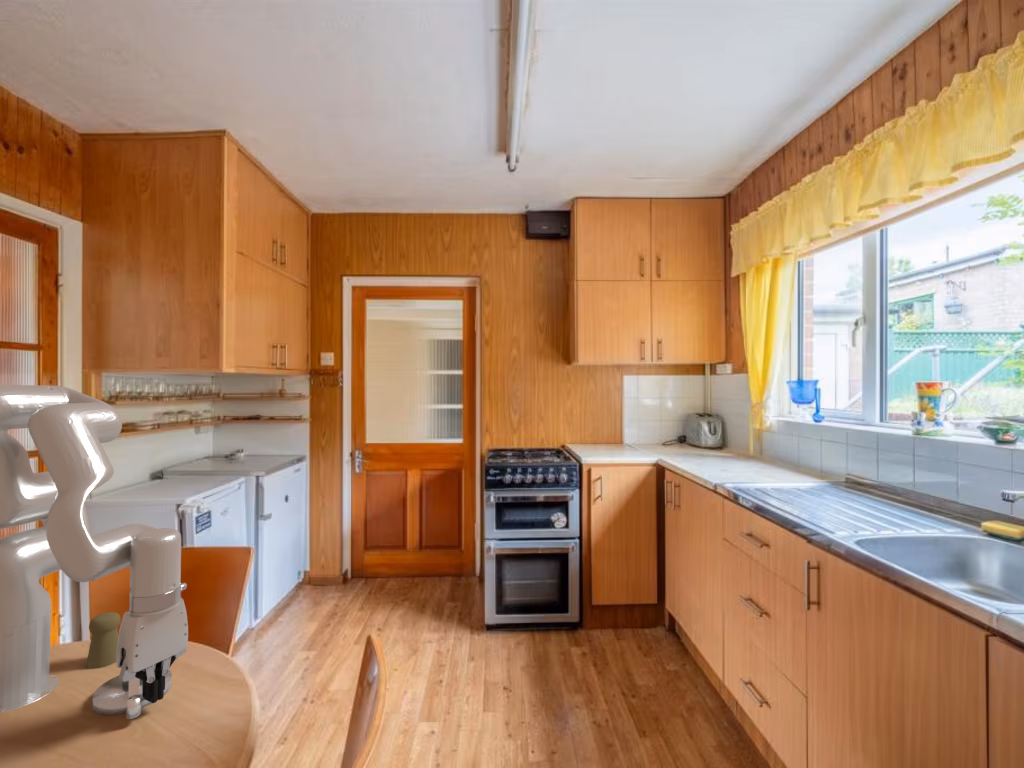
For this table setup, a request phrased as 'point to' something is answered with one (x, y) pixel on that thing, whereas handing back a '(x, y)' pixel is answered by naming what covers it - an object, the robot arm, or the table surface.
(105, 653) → the olive pepper mill
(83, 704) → the table surface
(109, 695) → the dial
